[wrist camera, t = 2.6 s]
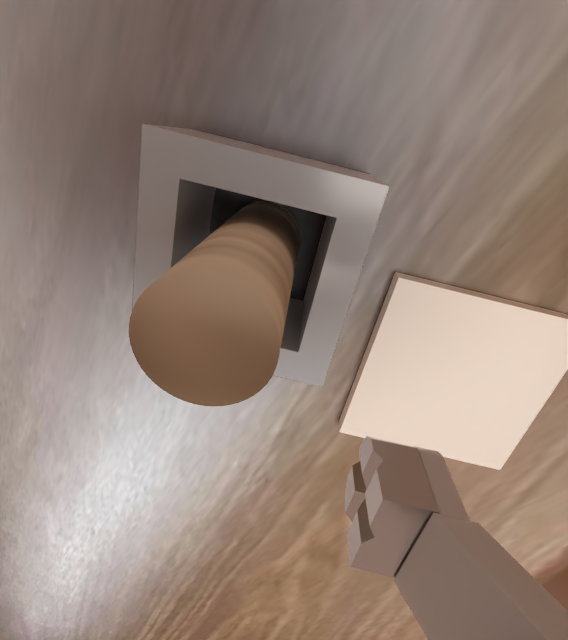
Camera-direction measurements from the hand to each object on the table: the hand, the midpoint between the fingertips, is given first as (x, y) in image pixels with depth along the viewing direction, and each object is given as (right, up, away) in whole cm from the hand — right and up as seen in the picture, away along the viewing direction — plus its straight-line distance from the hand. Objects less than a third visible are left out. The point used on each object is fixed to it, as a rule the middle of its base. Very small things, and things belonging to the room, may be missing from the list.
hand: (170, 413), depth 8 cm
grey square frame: (+1, +6, +13) cm, 14 cm away
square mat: (+13, -1, +15) cm, 20 cm away
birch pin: (+1, +6, +13) cm, 14 cm away
